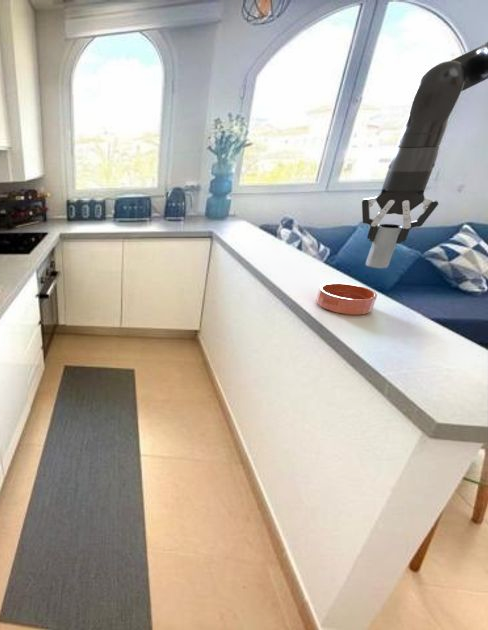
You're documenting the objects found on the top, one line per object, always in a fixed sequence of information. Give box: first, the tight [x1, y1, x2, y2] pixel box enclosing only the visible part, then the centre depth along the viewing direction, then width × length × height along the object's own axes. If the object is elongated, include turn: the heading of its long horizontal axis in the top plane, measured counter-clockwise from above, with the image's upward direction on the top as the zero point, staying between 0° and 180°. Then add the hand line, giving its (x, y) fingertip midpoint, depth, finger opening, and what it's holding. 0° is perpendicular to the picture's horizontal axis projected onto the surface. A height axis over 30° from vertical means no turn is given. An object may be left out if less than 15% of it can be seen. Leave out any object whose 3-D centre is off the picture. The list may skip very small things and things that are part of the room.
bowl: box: [315, 282, 378, 316], centre depth 101 cm, size 13×13×5 cm
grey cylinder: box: [365, 223, 403, 269], centre depth 87 cm, size 4×4×10 cm
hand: (384, 241), depth 86 cm, fingers closed on grey cylinder, 4 cm apart
